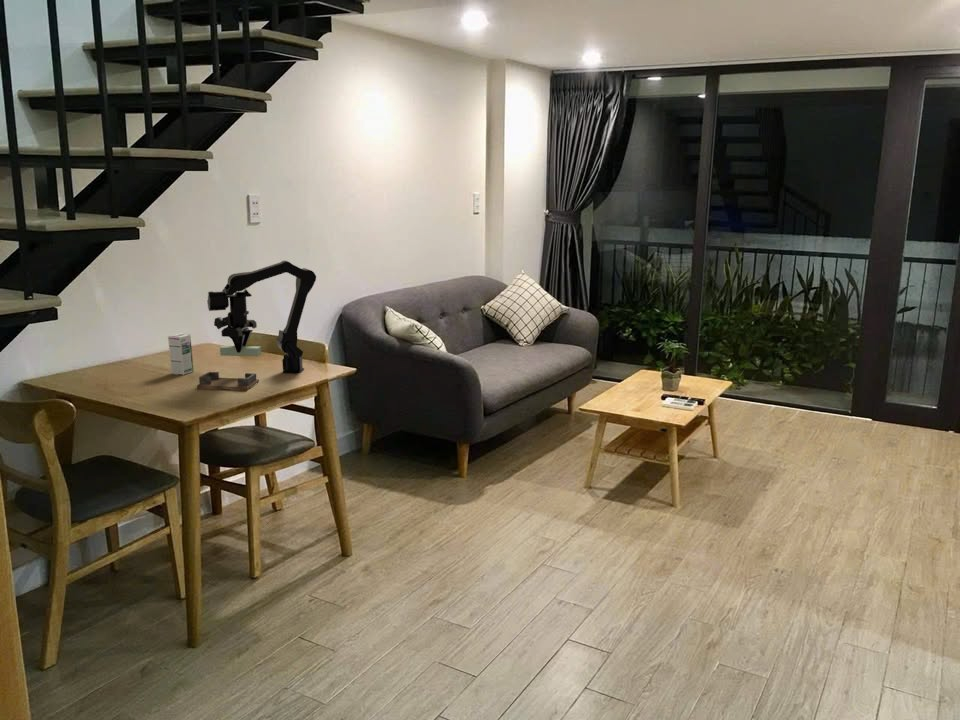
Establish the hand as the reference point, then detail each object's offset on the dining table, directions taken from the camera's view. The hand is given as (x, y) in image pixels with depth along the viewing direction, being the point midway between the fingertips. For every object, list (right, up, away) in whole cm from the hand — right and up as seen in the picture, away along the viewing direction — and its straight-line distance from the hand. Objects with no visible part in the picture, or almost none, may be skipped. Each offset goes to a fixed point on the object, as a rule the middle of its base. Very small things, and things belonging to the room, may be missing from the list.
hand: (240, 351), depth 294 cm
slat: (0, -1, 0) cm, 1 cm away
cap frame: (-1, -12, -10) cm, 16 cm away
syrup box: (-24, -8, +6) cm, 26 cm away
